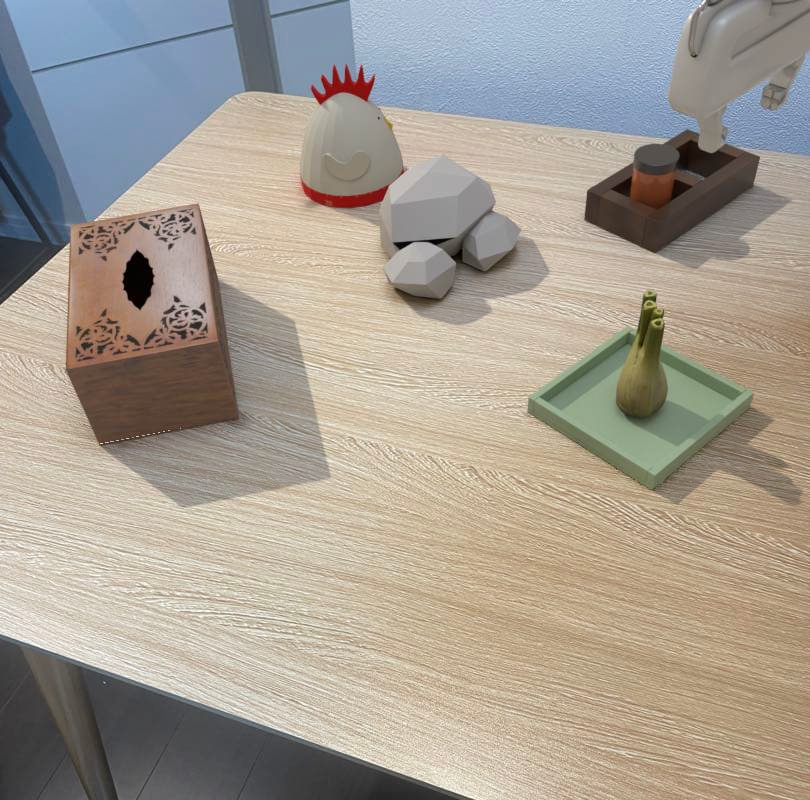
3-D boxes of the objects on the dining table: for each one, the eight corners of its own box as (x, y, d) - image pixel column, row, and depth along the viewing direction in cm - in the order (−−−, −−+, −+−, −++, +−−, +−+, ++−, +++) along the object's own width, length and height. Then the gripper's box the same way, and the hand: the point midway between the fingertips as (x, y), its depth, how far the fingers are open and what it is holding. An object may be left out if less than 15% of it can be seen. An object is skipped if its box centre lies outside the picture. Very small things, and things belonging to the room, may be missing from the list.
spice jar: (677, 216, 114) (688, 153, 107) (650, 234, 111) (661, 170, 105) (643, 201, 116) (652, 138, 110) (617, 218, 114) (625, 155, 108)
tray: (749, 407, 91) (754, 392, 90) (651, 490, 85) (655, 475, 83) (625, 340, 99) (627, 325, 97) (527, 411, 93) (528, 396, 91)
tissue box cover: (239, 418, 95) (217, 341, 87) (99, 445, 94) (65, 369, 86) (218, 278, 111) (198, 203, 104) (99, 300, 110) (70, 225, 102)
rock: (543, 243, 112) (547, 168, 104) (434, 324, 103) (430, 248, 96) (432, 196, 120) (429, 123, 113) (322, 266, 111) (311, 193, 104)
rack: (753, 186, 117) (760, 156, 114) (655, 253, 109) (660, 223, 106) (682, 158, 122) (687, 128, 119) (583, 219, 114) (586, 189, 111)
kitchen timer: (402, 205, 119) (394, 88, 108) (298, 210, 120) (279, 95, 108) (404, 151, 128) (396, 38, 117) (306, 156, 129) (289, 44, 117)
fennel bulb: (625, 382, 94) (640, 282, 85) (671, 394, 92) (693, 294, 83) (605, 417, 91) (620, 318, 82) (654, 431, 89) (674, 331, 80)
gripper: (735, 5, 65) (702, 187, 75) (885, -82, 73) (836, 93, 83) (661, -14, 68) (640, 163, 79) (812, -95, 76) (774, 75, 87)
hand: (742, 126), depth 81 cm, fingers open, 8 cm apart
